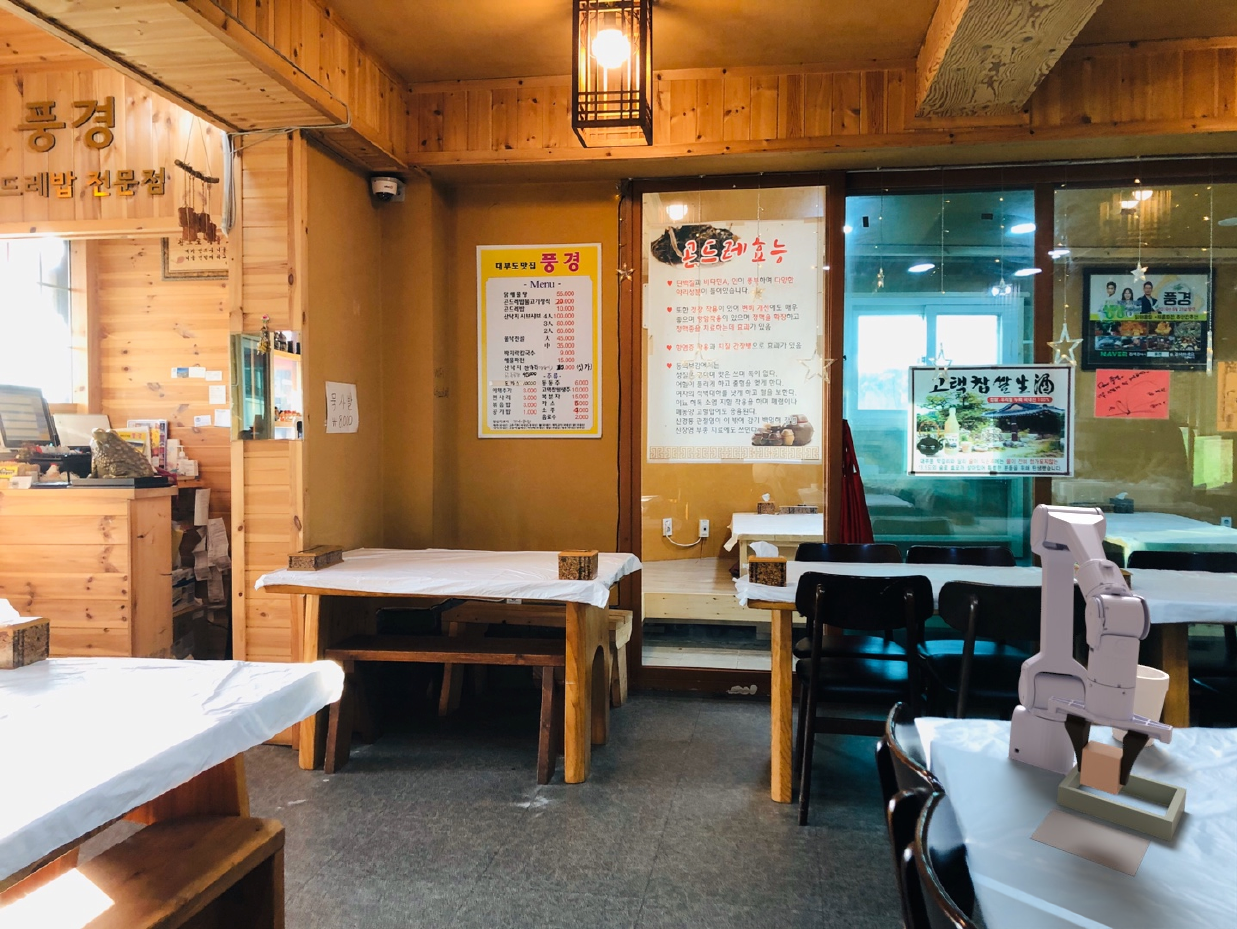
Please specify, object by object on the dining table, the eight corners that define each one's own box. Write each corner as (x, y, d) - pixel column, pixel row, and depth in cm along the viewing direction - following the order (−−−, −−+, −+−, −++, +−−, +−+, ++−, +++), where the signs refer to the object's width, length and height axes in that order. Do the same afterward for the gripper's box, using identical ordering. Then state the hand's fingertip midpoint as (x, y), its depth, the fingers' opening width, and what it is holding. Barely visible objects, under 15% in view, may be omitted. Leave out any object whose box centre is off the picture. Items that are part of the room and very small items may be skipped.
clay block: (1079, 783, 108) (1082, 748, 108) (1087, 773, 111) (1090, 740, 111) (1116, 795, 105) (1119, 759, 105) (1123, 785, 108) (1126, 750, 108)
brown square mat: (1029, 843, 106) (1029, 838, 106) (1052, 813, 114) (1053, 808, 114) (1133, 882, 97) (1134, 876, 97) (1150, 846, 106) (1150, 840, 106)
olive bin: (1056, 808, 116) (1058, 785, 116) (1079, 779, 126) (1080, 758, 126) (1170, 846, 106) (1172, 822, 106) (1184, 811, 117) (1186, 789, 116)
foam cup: (1154, 734, 147) (1160, 667, 146) (1170, 754, 138) (1177, 682, 137) (1096, 726, 150) (1102, 660, 149) (1109, 744, 141) (1115, 674, 140)
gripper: (1045, 673, 109) (1037, 767, 110) (1169, 703, 99) (1160, 805, 100) (1058, 663, 114) (1051, 752, 115) (1178, 690, 104) (1169, 788, 105)
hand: (1102, 776), depth 108 cm, fingers closed on clay block, 4 cm apart
